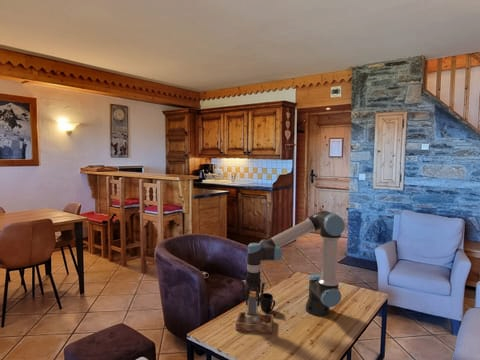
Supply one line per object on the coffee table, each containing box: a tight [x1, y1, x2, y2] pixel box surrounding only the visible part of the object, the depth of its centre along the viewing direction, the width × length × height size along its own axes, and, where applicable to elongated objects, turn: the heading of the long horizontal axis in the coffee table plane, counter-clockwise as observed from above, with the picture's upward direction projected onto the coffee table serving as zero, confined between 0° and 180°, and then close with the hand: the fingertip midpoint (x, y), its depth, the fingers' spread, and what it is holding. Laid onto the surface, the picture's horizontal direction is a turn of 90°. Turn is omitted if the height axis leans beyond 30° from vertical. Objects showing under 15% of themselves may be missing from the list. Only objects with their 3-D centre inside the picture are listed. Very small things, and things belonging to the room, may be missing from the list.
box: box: [235, 309, 274, 335], centre depth 186 cm, size 20×14×7 cm
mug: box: [259, 292, 276, 313], centre depth 204 cm, size 8×12×10 cm
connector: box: [249, 290, 257, 314], centre depth 186 cm, size 4×4×11 cm
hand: (252, 310), depth 186 cm, fingers closed on connector, 4 cm apart
